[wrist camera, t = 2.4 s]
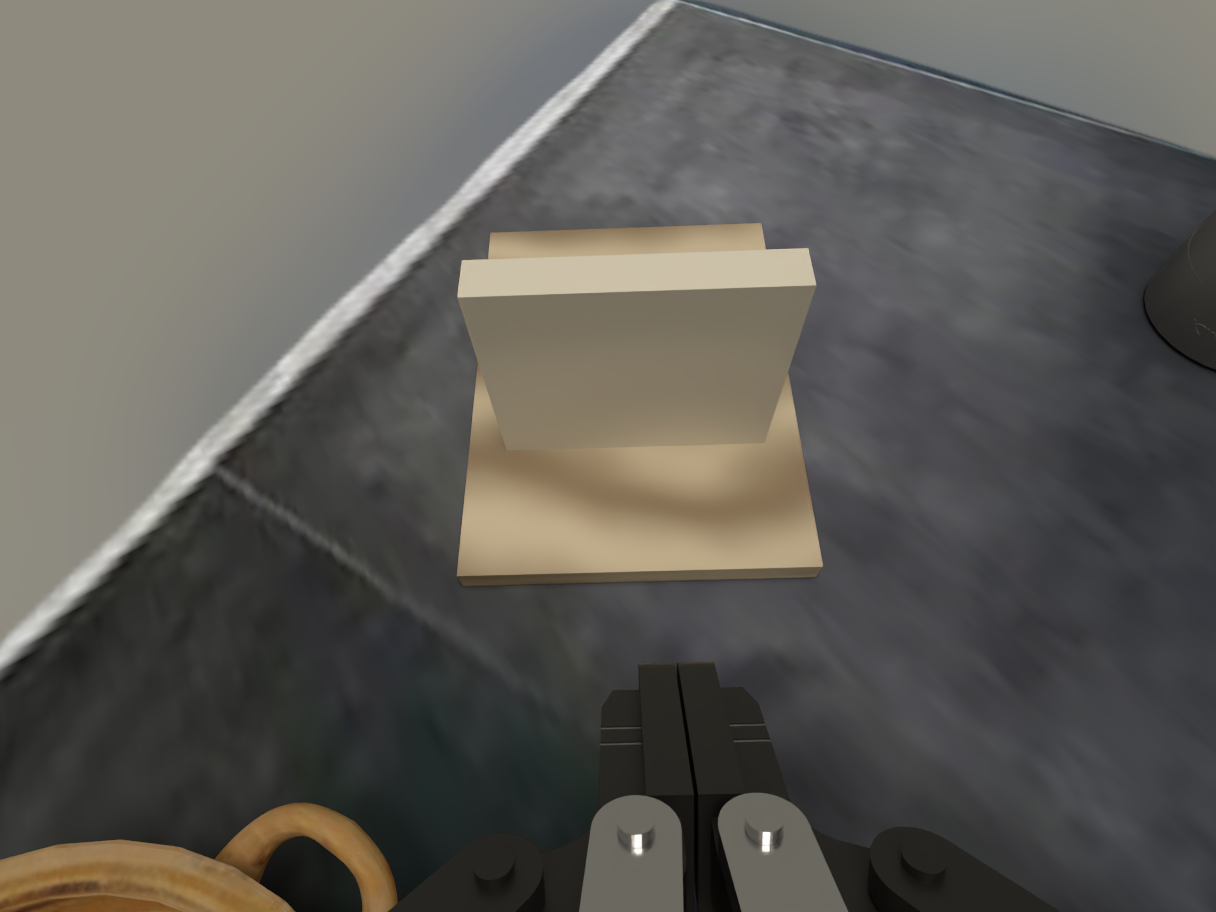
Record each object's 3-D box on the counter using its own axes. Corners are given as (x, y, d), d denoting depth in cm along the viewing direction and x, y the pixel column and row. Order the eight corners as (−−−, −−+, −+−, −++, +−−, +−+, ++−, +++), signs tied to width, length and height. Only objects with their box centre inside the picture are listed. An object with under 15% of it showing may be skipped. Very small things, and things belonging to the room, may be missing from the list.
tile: (759, 409, 38) (807, 245, 28) (764, 443, 37) (816, 285, 26) (508, 417, 38) (462, 257, 28) (506, 450, 37) (457, 297, 27)
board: (494, 249, 47) (490, 232, 46) (757, 240, 47) (760, 223, 45) (463, 585, 35) (456, 576, 34) (816, 577, 35) (822, 566, 33)
